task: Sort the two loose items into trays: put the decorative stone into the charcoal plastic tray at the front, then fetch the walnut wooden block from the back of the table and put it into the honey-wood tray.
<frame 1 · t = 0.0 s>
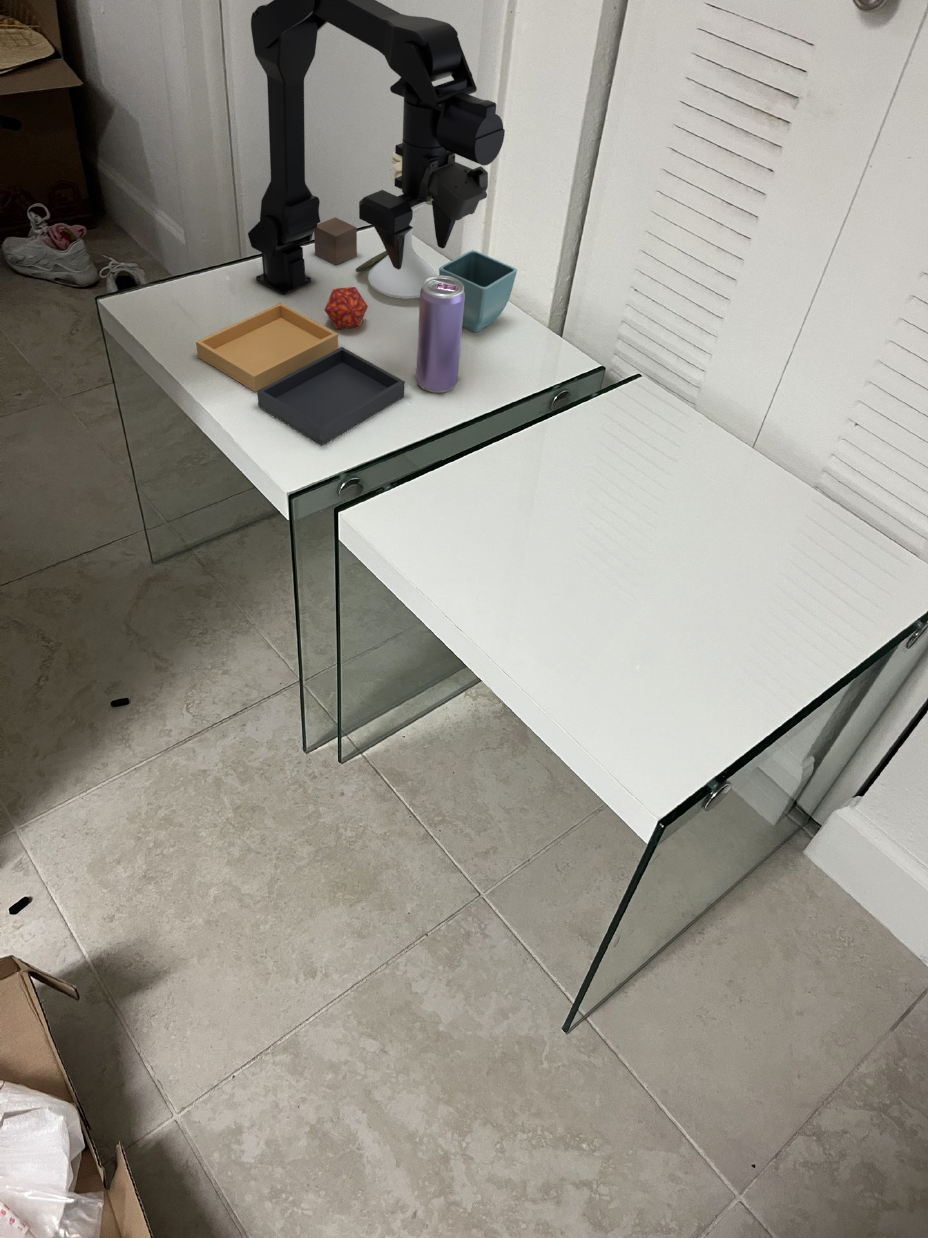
hand: (419, 257, 131), 15 cm above the table, tool pointing down, fingers open, 9 cm apart
beverage can: (436, 383, 136), on the table
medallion: (376, 256, 154), point 3 cm above the table, touching flower in vase
stone tray: (332, 401, 131), on the table
wood tray: (269, 352, 138), on the table
flower in vase: (406, 291, 153), on the table, touching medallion
decorative stone: (346, 325, 145), on the table
walnut block: (335, 255, 160), on the table
flower pot: (473, 323, 149), on the table
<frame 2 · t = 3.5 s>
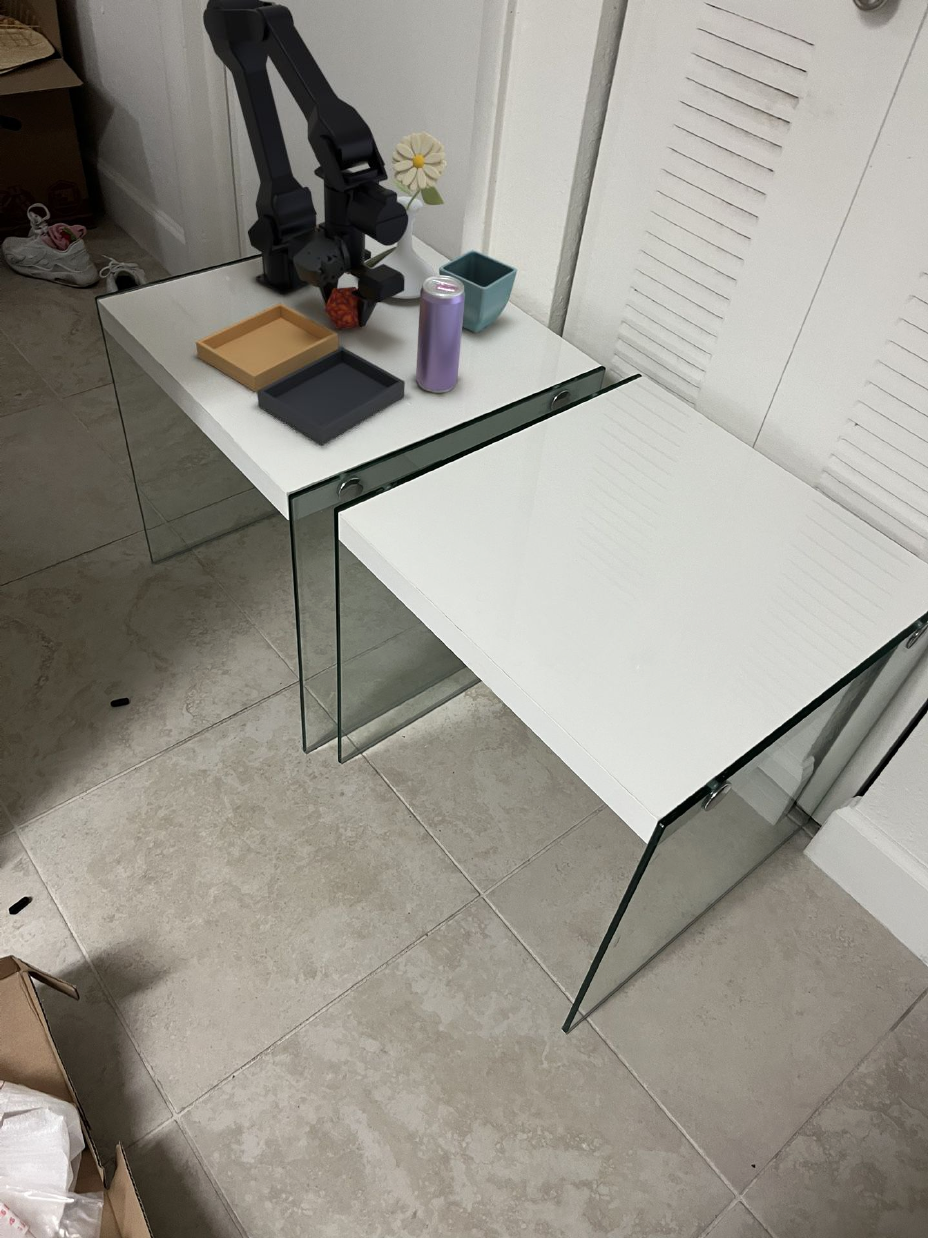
hand: (346, 317, 144), 1 cm above the table, tool pointing down, fingers closed on decorative stone, 6 cm apart
decorative stone: (346, 325, 145), on the table, touching gripper
everything else where it was.
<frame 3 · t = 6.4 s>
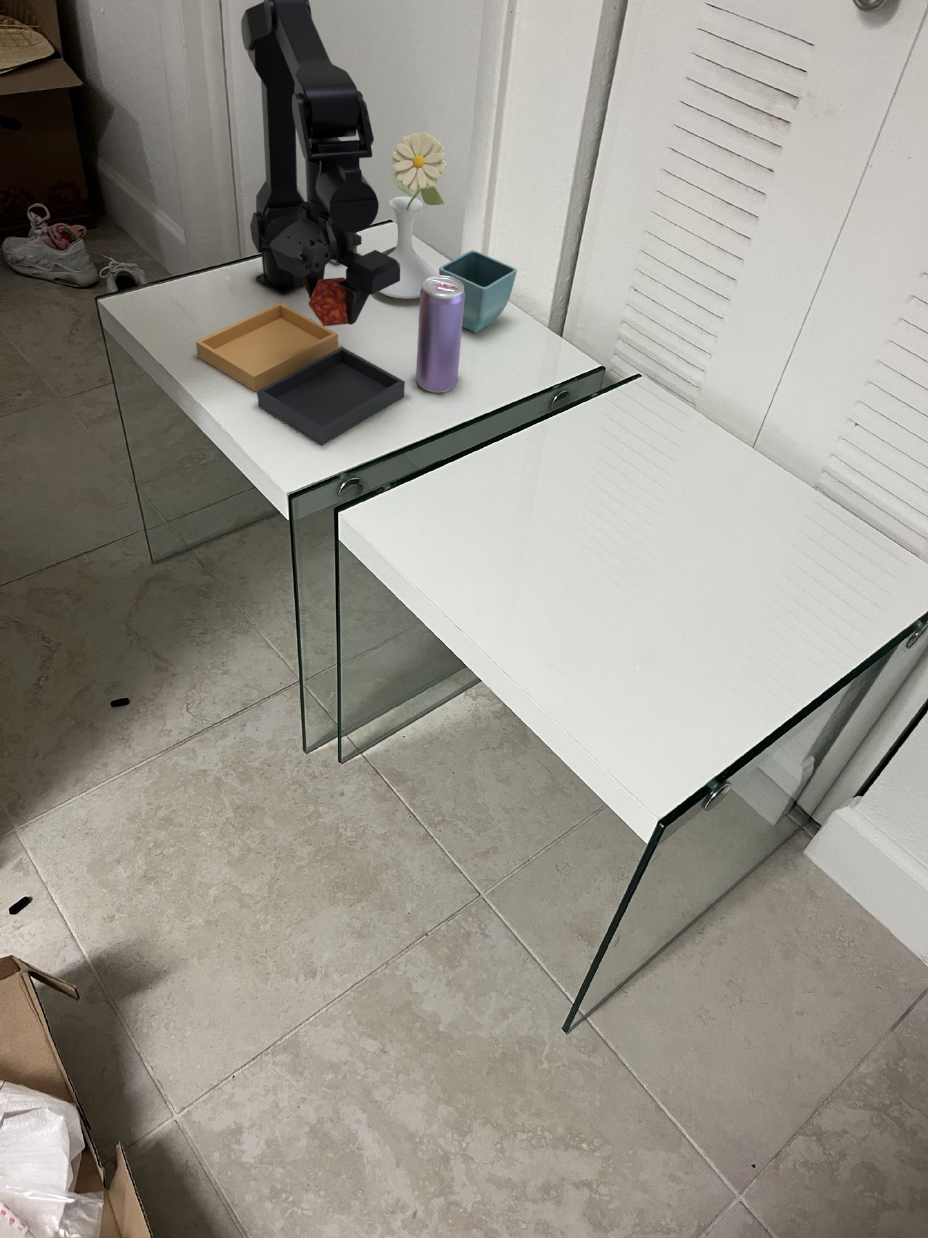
hand: (333, 313, 126), 11 cm above the table, tool pointing down, fingers closed on decorative stone, 6 cm apart
decorative stone: (334, 321, 127), point 10 cm above the table, touching gripper
everything else where it was.
when the fingers open (1 cm above the table, at t = 9.4 s): decorative stone stays where it is, resting on stone tray.
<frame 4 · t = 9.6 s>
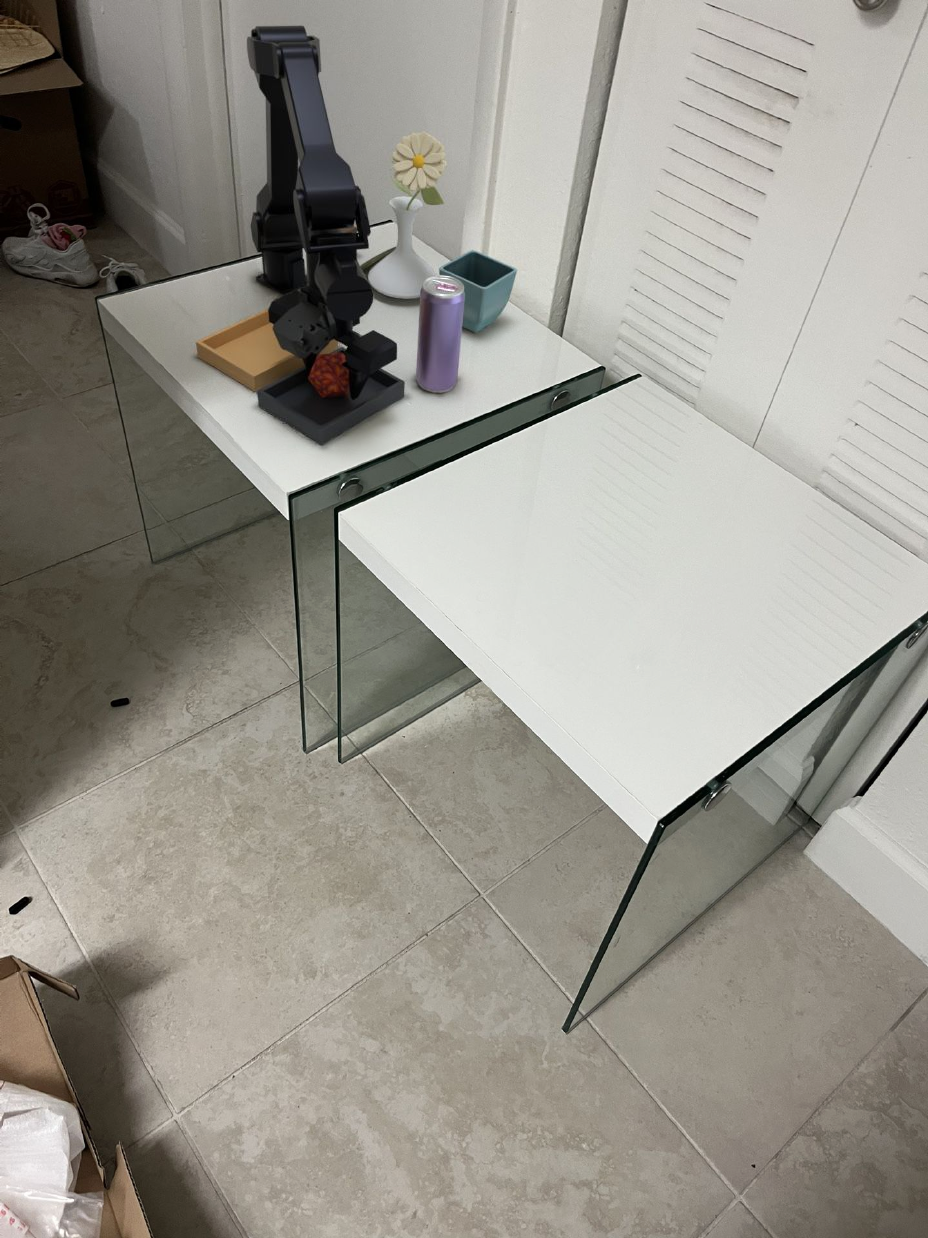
hand: (333, 386, 131), 2 cm above the table, tool pointing down, fingers open, 8 cm apart
decorative stone: (332, 393, 132), resting on stone tray
everything else where it was.
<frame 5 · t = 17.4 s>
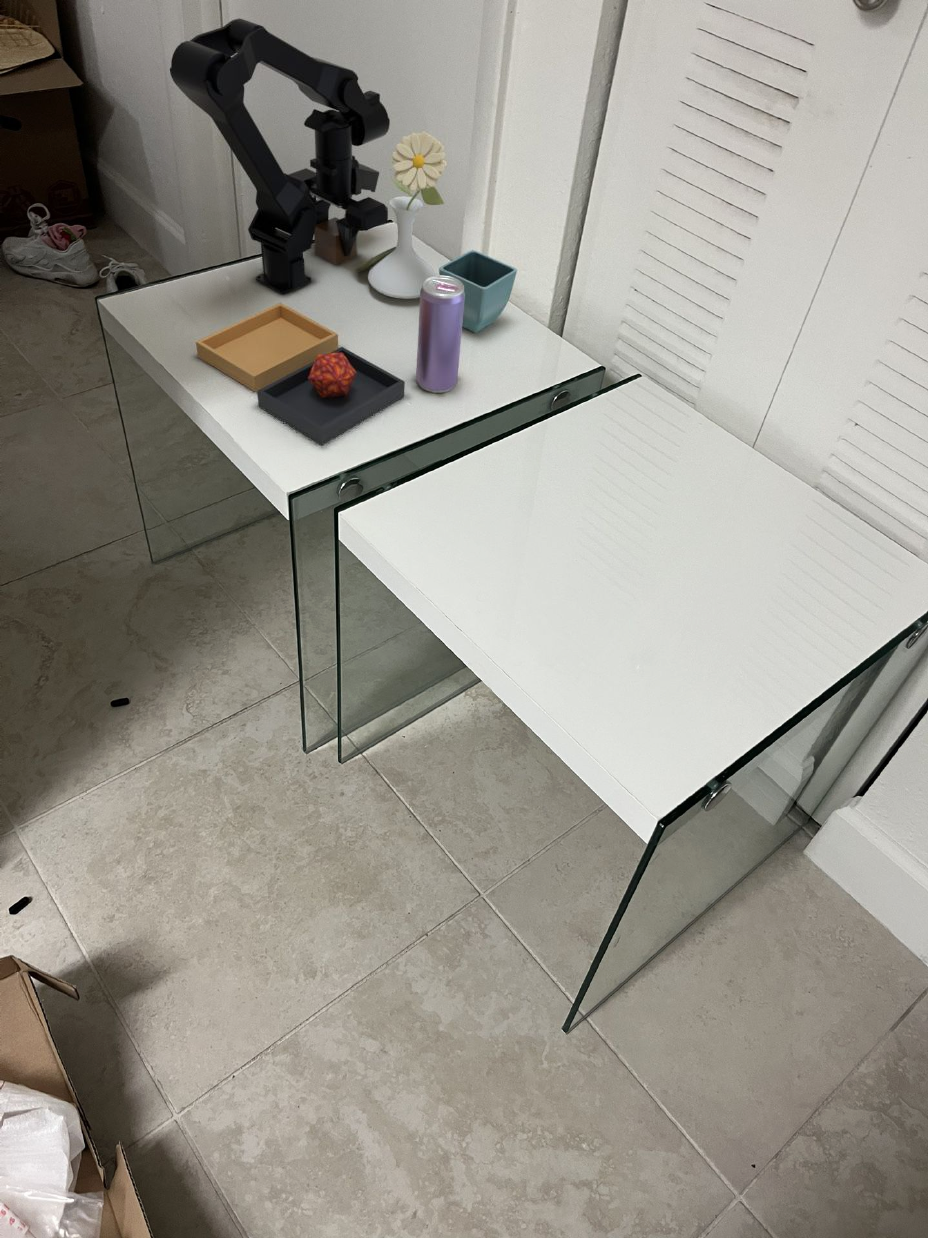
hand: (335, 249, 159), 1 cm above the table, tool pointing down, fingers closed on walnut block, 5 cm apart
walnut block: (335, 255, 160), on the table, touching gripper
everything else where it was.
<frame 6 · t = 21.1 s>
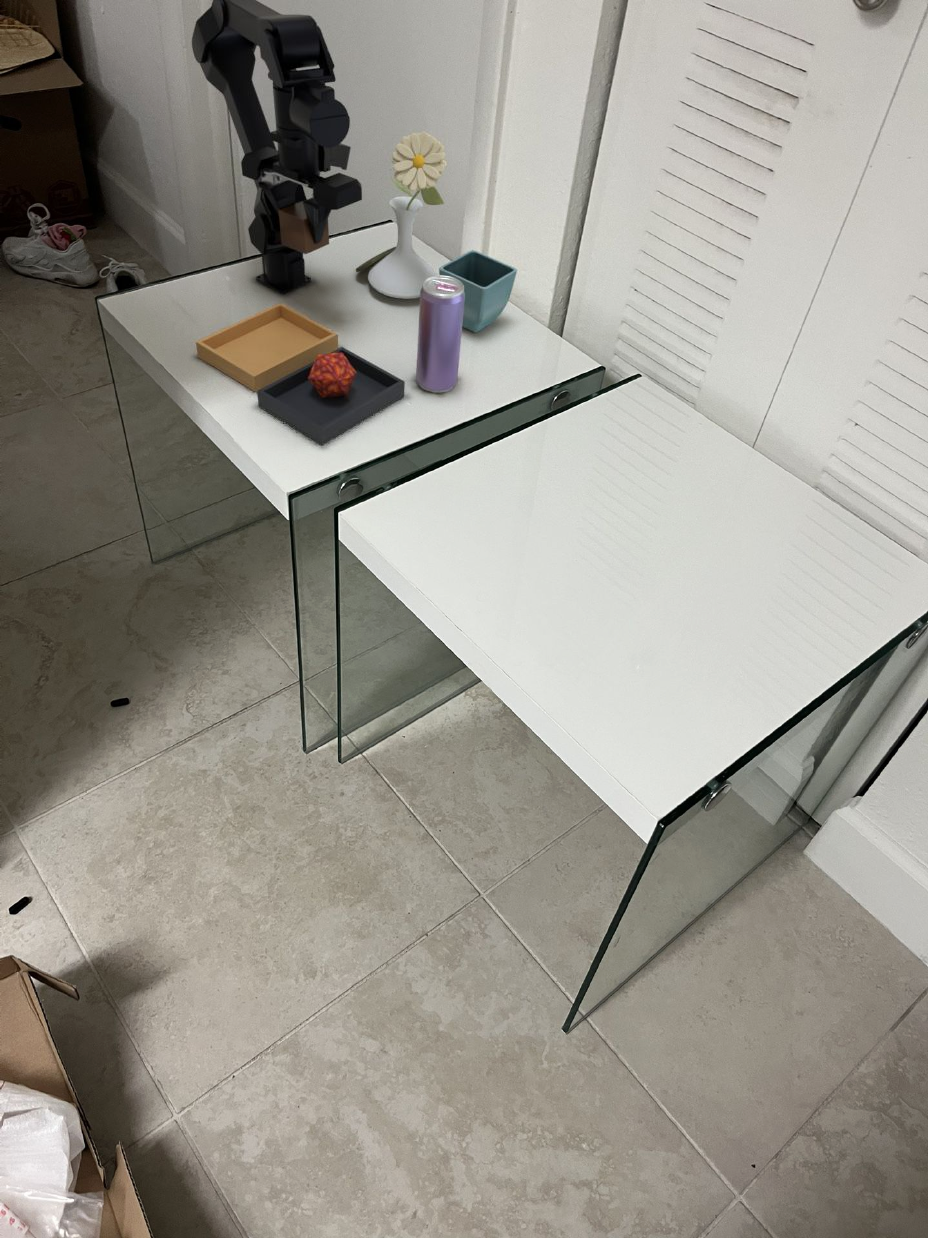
hand: (304, 237, 140), 11 cm above the table, tool pointing down, fingers closed on walnut block, 5 cm apart
walnut block: (305, 244, 140), point 10 cm above the table, touching gripper
everything else where it was.
when the fingers open (1 cm above the table, at t = 25.0 s): walnut block stays where it is, resting on wood tray.
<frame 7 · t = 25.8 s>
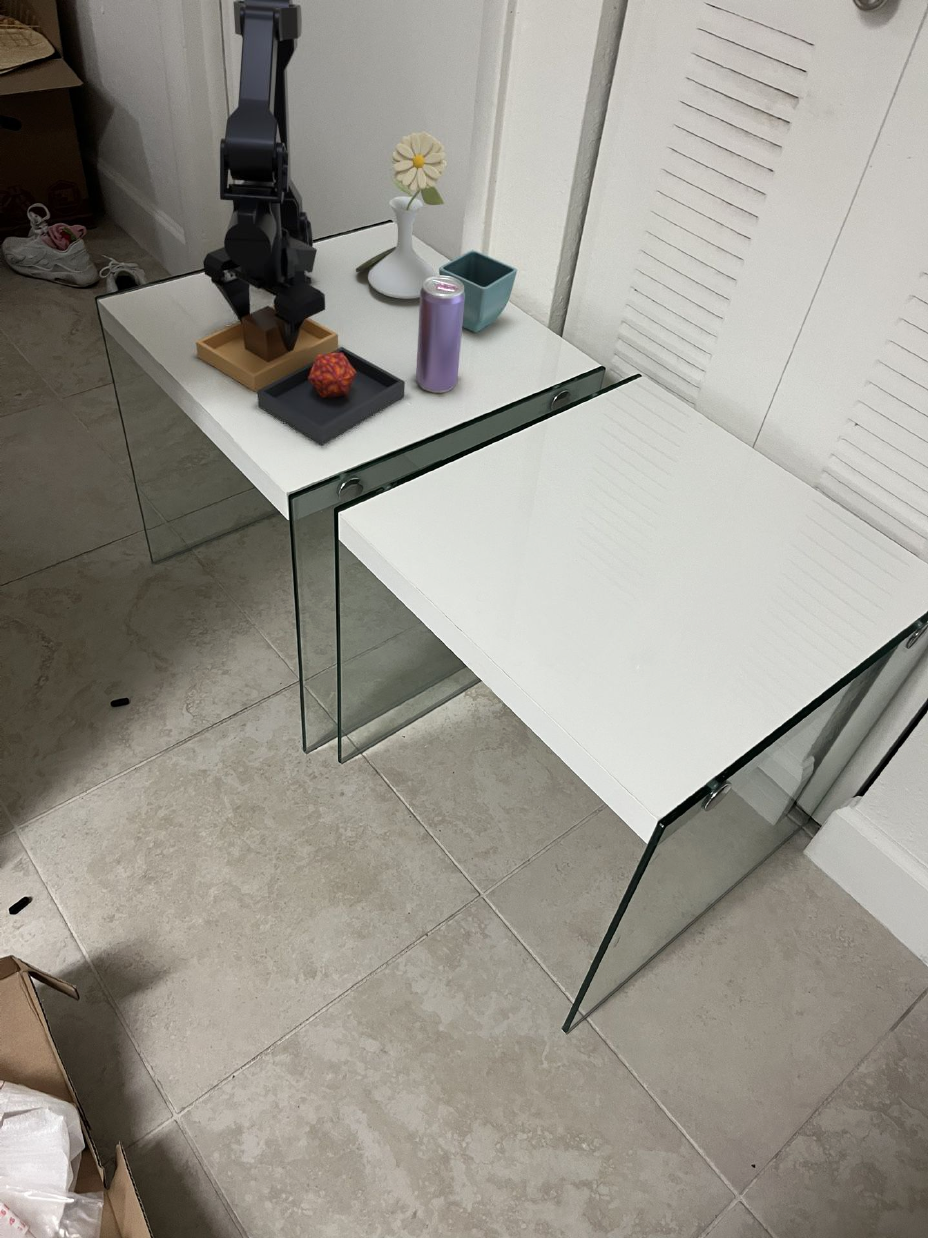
hand: (267, 337, 136), 2 cm above the table, tool pointing down, fingers open, 9 cm apart
walnut block: (269, 349, 138), resting on wood tray
everything else where it was.
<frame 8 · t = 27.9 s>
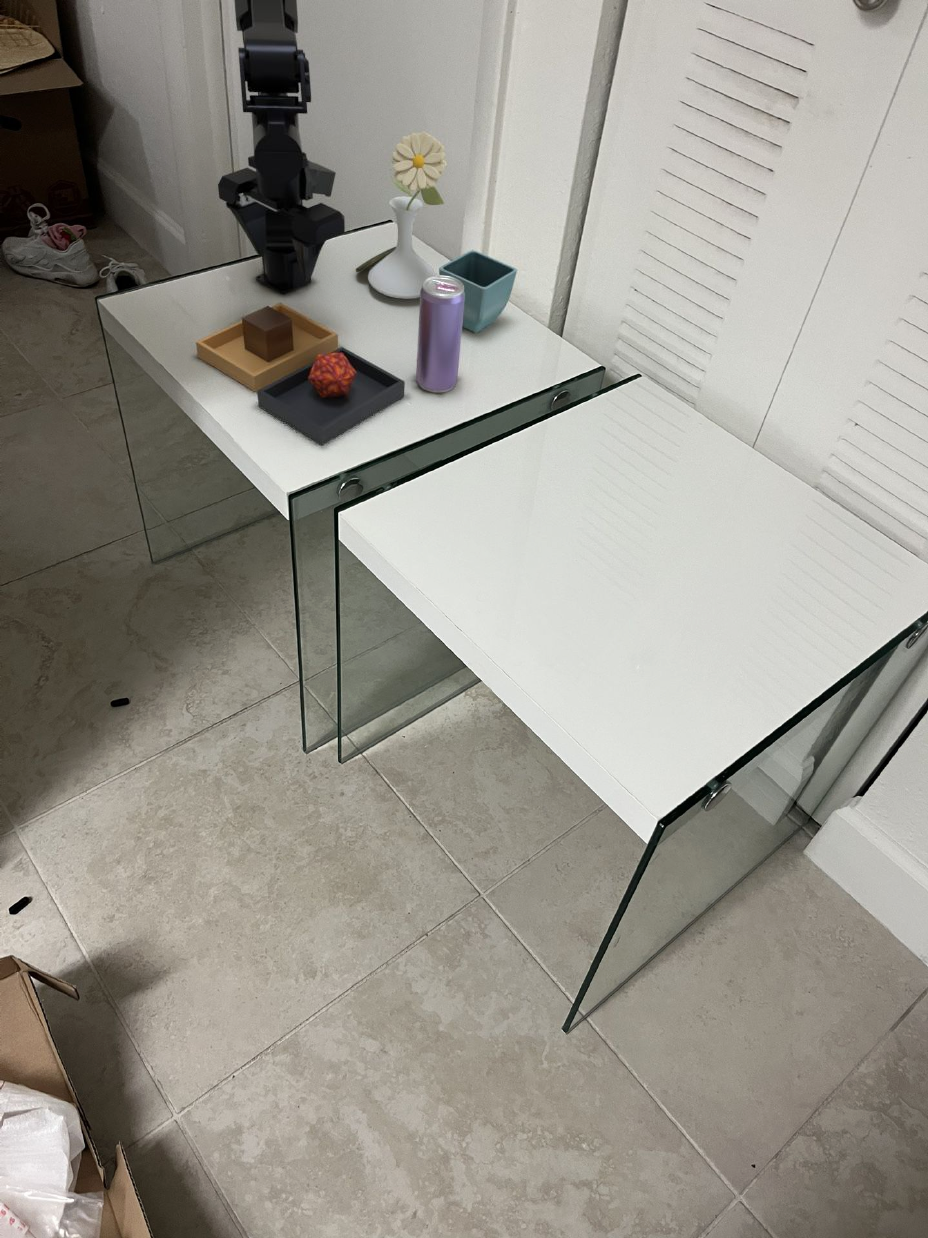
hand: (284, 266, 131), 12 cm above the table, tool pointing down, fingers open, 9 cm apart
nothing on the table moved.
at the end: decorative stone inside the target area in the stone tray (1.5 cm from its centre), point 0.3 cm above the stone tray's base; walnut block inside the target area in the wood tray (0.1 cm from its centre), point 0.5 cm above the wood tray's base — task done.
